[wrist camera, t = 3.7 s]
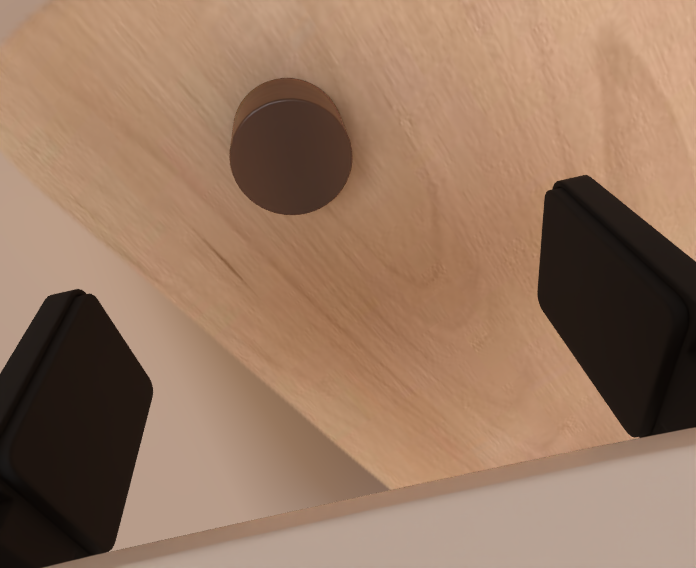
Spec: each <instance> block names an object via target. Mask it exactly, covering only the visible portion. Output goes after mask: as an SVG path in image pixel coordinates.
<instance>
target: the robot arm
mask: <svg viewBox="0 0 696 568" xmlns="http://www.w3.org/2000/svg"><path fill="white" fill-rule="evenodd" d="M538 301H539V304H540V307H541V309H542V310H543V312H544V313H545V315H546V316H547V318H548V319H549V321H550V322H551V323H552V325H553V326H554V328H555V329H556V331H557V332H558V334H559V335H560V337H561V338H562V339H563V341H564V342H565V344H566V345H567V347H568V348H569V350H570V351H571V352H572V354H573V355H574V357H575V358H576V360H577V361H578V363H579V364H580V365H581V367H582V368H583V370H584V371H585V373H586V374H587V376H588V377H589V378H590V380H591V381H592V383H593V384H594V386H595V387H596V389H597V390H598V392H599V393H600V394H601V396H602V397H603V399H604V400H605V402H606V403H607V405H608V406H609V407H610V409H611V410H612V412H613V413H614V415H615V416H616V418H617V419H618V420H619V422H620V423H621V425H622V426H623V428H624V429H625V430H626V432H627V433H628V434H629V435H630V436H632V437H639V438H638V439H633V440H628V441H622V442H617V443H612V444H607V445H602V446H597V447H592V448H587V449H582V450H577V451H572V452H568V453H563V454H558V455H553V456H549V457H544V458H539V459H535V460H530V461H525V462H520V463H516V464H511V465H506V466H502V467H497V468H492V469H487V470H483V471H478V472H473V473H468V474H464V475H459V476H454V477H450V478H445V479H440V480H435V481H431V482H426V483H421V484H417V485H412V486H408V487H403V488H398V489H394V490H389V491H384V492H380V493H375V494H371V495H366V496H361V497H357V498H352V499H347V500H343V501H338V502H334V503H329V504H324V505H320V506H315V507H311V508H306V509H301V510H297V511H293V512H288V513H283V514H279V515H274V516H270V517H265V518H260V519H256V520H251V521H246V522H242V523H237V524H233V525H228V526H224V527H219V528H215V529H210V530H206V531H202V532H197V533H192V534H188V535H183V536H179V537H174V538H170V539H165V540H161V541H157V542H152V543H147V544H143V545H138V546H134V547H130V548H125V549H121V550H116V551H111V552H109V551H110V550H111V549H112V548H113V546H114V544H115V541H116V537H117V533H118V529H119V526H120V522H121V517H122V514H123V509H124V506H125V502H126V498H127V494H128V490H129V487H130V483H131V479H132V475H133V471H134V467H135V462H136V459H137V455H138V451H139V447H140V443H141V440H142V436H143V432H144V428H145V424H146V420H147V416H148V412H149V408H150V404H151V400H152V396H153V387H152V383H151V380H150V378H149V377H148V375H147V374H146V372H145V371H144V369H143V368H142V366H141V365H140V363H139V362H138V360H137V359H136V357H135V356H134V354H133V353H132V351H131V349H130V348H129V346H128V345H127V343H126V342H125V340H124V339H123V337H122V336H121V334H120V333H119V331H118V330H117V328H116V327H115V325H114V324H113V322H112V321H111V319H110V318H109V316H108V315H107V313H106V312H105V310H104V309H103V307H102V305H101V304H100V303H99V301H98V299H97V298H96V297H95V296H94V295H92V294H86V293H85V292H84V291H82V290H80V289H76V290H71V291H67V292H62V293H58V294H54V295H50V296H48V297H47V298H46V299H45V301H44V302H43V304H42V306H41V307H40V309H39V311H38V312H37V314H36V315H35V317H34V319H33V320H32V322H31V324H30V325H29V327H28V329H27V330H26V332H25V334H24V335H23V337H22V339H21V340H20V342H19V344H18V345H17V347H16V349H15V350H14V352H13V353H12V355H11V357H10V358H9V360H8V362H7V364H6V365H5V367H4V369H3V370H2V372H1V374H0V568H696V262H695V261H694V260H693V259H692V258H690V257H689V256H688V255H687V254H685V253H684V252H683V251H682V250H680V249H679V248H678V247H677V246H675V245H674V244H673V243H672V242H671V241H669V240H668V239H667V238H666V237H664V236H663V235H662V234H661V233H659V232H658V231H657V230H656V229H654V228H653V227H652V226H651V225H649V224H648V223H647V222H646V221H644V220H643V219H642V218H641V217H640V216H638V215H637V214H636V213H635V212H633V211H632V210H631V209H630V208H628V207H627V206H626V205H625V204H623V203H622V202H621V201H620V200H618V199H617V198H616V197H615V196H613V195H612V194H611V193H610V192H609V191H607V190H606V189H605V188H604V187H602V186H601V185H600V184H599V183H597V182H596V181H595V180H594V179H592V178H591V177H590V176H588V175H583V176H578V177H574V178H569V179H565V180H560V181H557V182H556V183H555V184H554V186H553V189H552V190H549V191H547V192H546V194H545V200H544V213H543V226H542V239H541V253H540V266H539V279H538ZM106 552H107V553H106Z"/></svg>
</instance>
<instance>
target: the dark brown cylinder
mask: <svg viewBox="0 0 696 568" xmlns="http://www.w3.org/2000/svg"><path fill="white" fill-rule="evenodd" d="M230 165H231V170H232V173H233V176H234V178H235V181H236V183H237V184H238V186H239V188H240V189H241V190H242V192H243V193H244V194H245V195H246V196H247V197H248V198H249V199H250V200H251V201H253V202H254V203H255V204H257V205H258V206H260V207H262V208H264V209H266V210H268V211H271V212H274V213H278V214H284V215H300V214H305V213H309V212H312V211H315V210H317V209H320V208H321V207H323V206H325V205H327V204H328V203H329V202H331V201H332V200H333V199H334V198H335V197H336V196H337V195H338V194H339V193H340V191H341V190H342V189H343V187H344V185H345V184H346V182H347V179H348V177H349V174H350V171H351V166H352V148H351V143H350V140H349V137H348V135H347V132H346V130H345V127H344V125H343V122H342V120H341V117H340V115H339V112H338V110H337V108H336V106H335V105H334V103H333V102H332V100H331V99H330V98H329V97H328V96H327V95H326V94H325V93H324V92H323V91H322V90H320V89H319V88H318V87H316V86H314V85H312V84H310V83H308V82H306V81H302V80H298V79H292V78H281V79H275V80H271V81H268V82H265V83H263V84H261V85H259V86H258V87H256V88H255V89H253V90H252V91H251V92H250V93H249V94H248V95H247V96H246V97H245V98H244V99H243V101H242V102H241V104H240V106H239V108H238V110H237V112H236V115H235V119H234V125H233V132H232V139H231V146H230Z"/></svg>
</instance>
